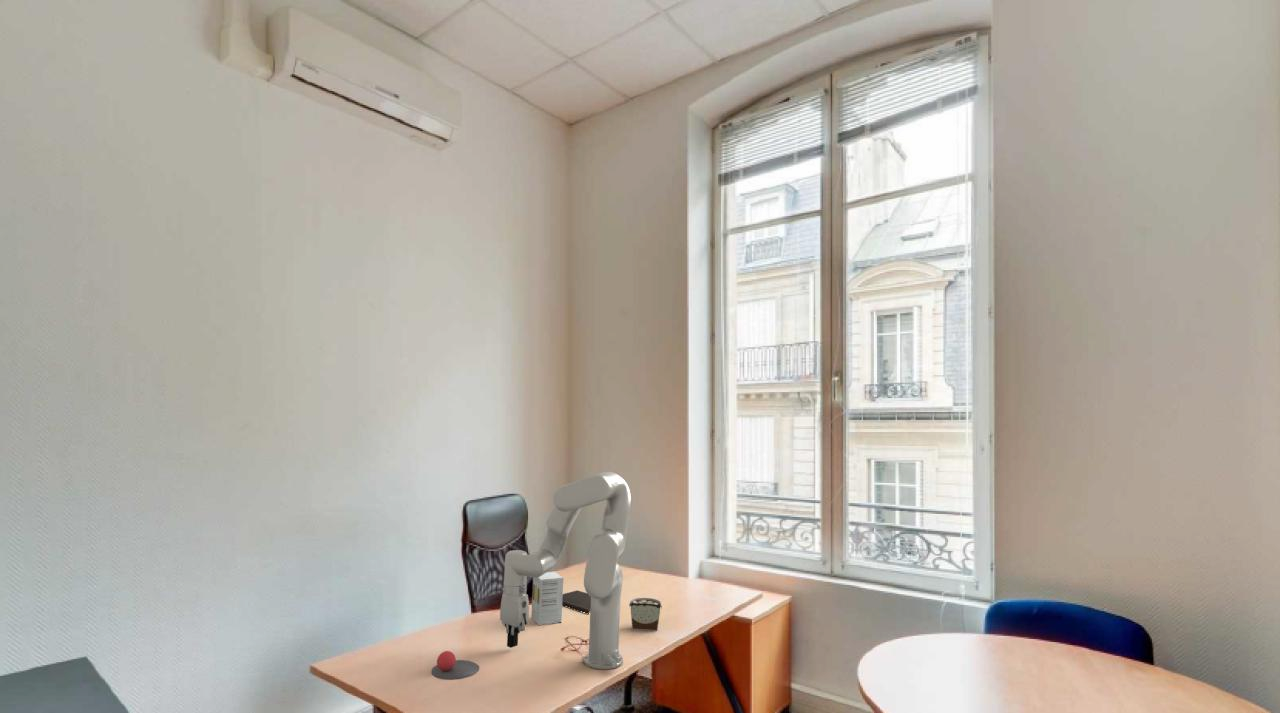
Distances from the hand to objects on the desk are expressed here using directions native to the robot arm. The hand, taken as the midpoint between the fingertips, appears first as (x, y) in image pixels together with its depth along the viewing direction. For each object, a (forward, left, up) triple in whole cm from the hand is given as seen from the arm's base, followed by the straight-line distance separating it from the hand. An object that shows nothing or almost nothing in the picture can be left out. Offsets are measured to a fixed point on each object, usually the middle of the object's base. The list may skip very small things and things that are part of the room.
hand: (512, 646), depth 212 cm
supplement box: (+23, -22, -2) cm, 32 cm away
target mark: (-7, +21, -2) cm, 22 cm away
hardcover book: (+36, -44, -2) cm, 57 cm away
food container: (0, -52, -2) cm, 52 cm away
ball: (-6, +23, +1) cm, 24 cm away
